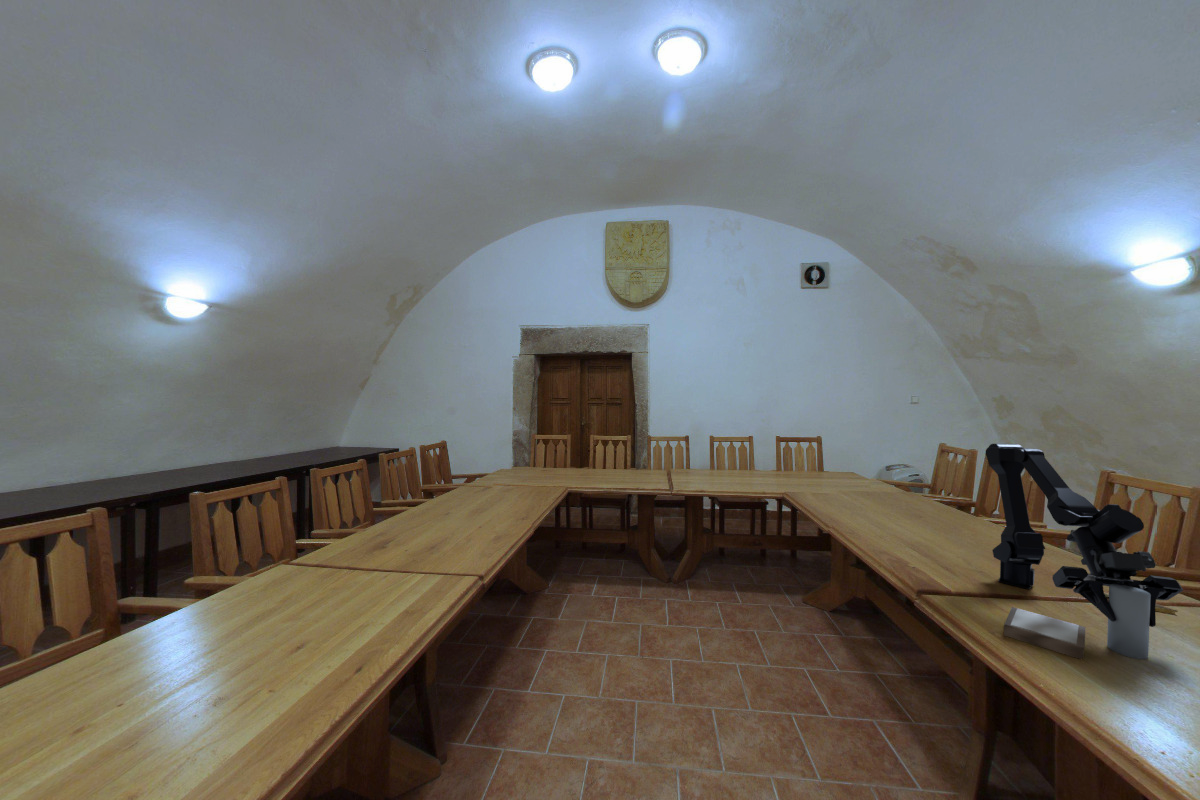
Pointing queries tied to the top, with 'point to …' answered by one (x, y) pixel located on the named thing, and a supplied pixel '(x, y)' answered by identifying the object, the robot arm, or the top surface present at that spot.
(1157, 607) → the shard
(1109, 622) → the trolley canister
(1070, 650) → the plate
